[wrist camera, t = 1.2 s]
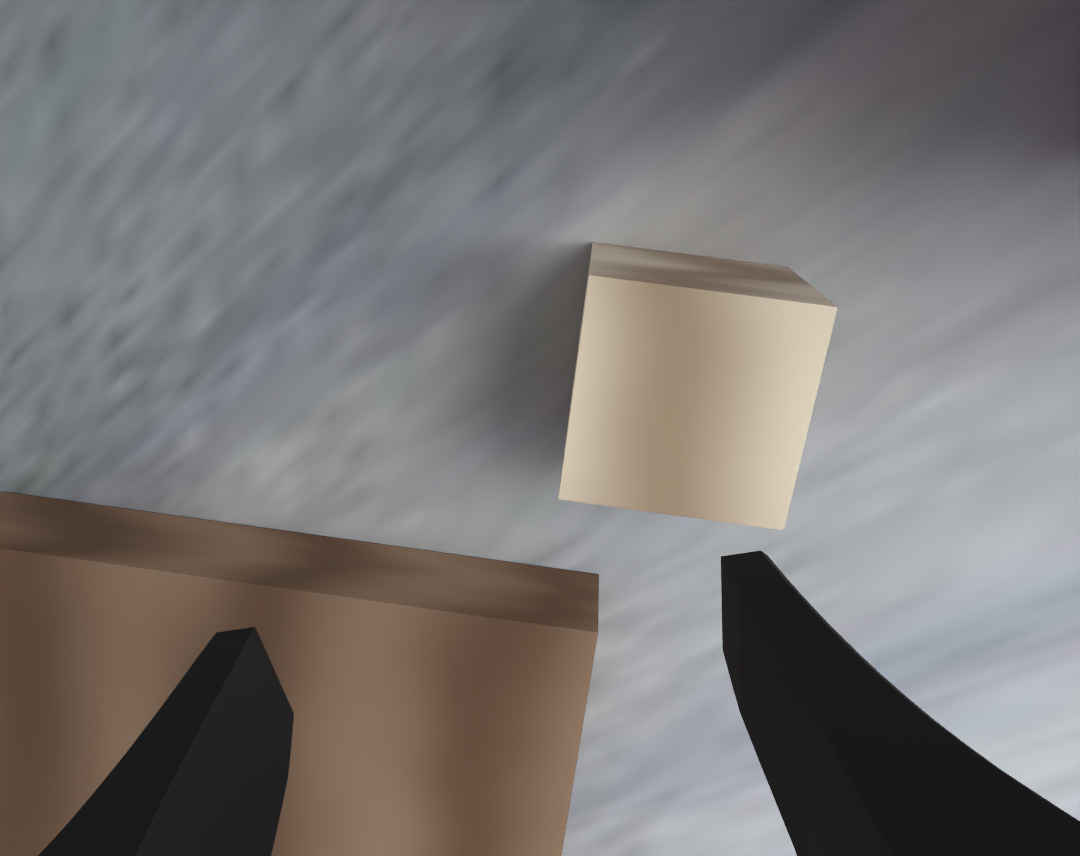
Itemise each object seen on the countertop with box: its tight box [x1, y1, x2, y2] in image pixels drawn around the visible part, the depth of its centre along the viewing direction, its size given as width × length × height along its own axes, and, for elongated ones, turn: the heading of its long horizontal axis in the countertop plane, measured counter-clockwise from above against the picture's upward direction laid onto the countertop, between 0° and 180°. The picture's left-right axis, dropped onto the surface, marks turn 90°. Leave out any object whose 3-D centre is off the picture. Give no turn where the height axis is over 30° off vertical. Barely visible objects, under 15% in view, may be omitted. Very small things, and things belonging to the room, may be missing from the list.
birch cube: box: [558, 242, 838, 530], centre depth 20 cm, size 5×5×5 cm
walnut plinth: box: [0, 492, 599, 856], centre depth 27 cm, size 18×18×3 cm
